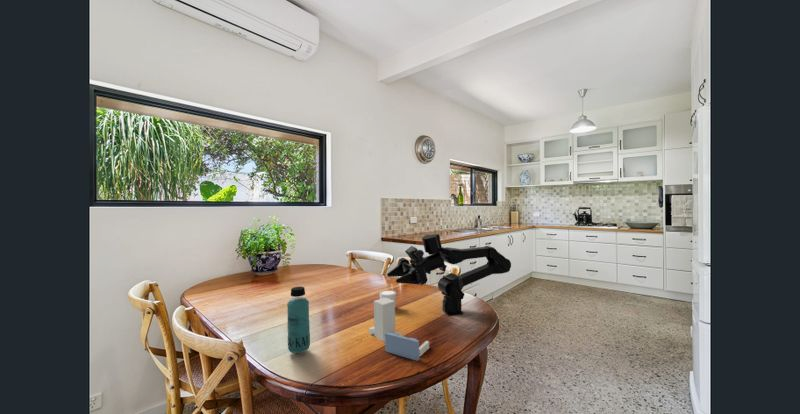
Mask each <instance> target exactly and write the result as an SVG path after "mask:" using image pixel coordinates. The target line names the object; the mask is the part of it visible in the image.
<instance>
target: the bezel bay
mask: <svg viewBox="0 0 800 414" xmlns="http://www.w3.org/2000/svg"><path fill="white" fill-rule="evenodd" d="M395 333H396V332H395ZM395 333H388V332H387V333H385V341H384V345H385V346H384V347H385V352H386V353H389V354H393V355H396V356H399V357H403V358H406V359H409V360H412V361H417V362H418V361H419V360H420V357H421V356H423V355H424V353H426V352H427V351H428V350H429V349H430V341H428V340H425V341H424V342H423V343H422V344H421V345H420V340H418V339H417V338H414V337H407V336H405V334H401V335H400V336H399V335H396V334H395Z"/></svg>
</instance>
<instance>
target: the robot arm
mask: <svg viewBox="0 0 800 414" xmlns="http://www.w3.org/2000/svg"><path fill="white" fill-rule="evenodd" d="M421 240H422V244H423V248H424V251H423V250H422V249H418V248H416V247H415V246H412V245H411V246H409V247H408V248H407V249H406V250H405V254H406V255H407V256H408V258H409V259H407V258H405V257H402V258H399V259H398V262H397V265H396V266H395V267H394V268H393V269H391V270H390V271H389V272H388V273H387V274H386V276H387V277H388V278H391V277H398V278H396V279H395V282H396V284H409V285H411V284H412V285H417V286H419V285H420V286H424V285H426V284H427V282H428V276H427V275H430V274H432V273H431V272H433V271H435V270H437V269H438V270H439V271H442V272H443V273H446V270H447V267H448V265H446V264H445V262H446V263H448V264H450V265H457V264H459V263H462V262H464V261H467V260H472V259H473V260H474V259H480V258H485V259H486V260H487V262H486V263H485V264H484V265H481V266H478V267H476V268H473V269H471V270H469V271H466V272H464V273H461V274H459V275H457V274H455V273H453V272H450V273H448V274H446V275H442V277H441V278H440V279H439V280H438V282H437V287H438V288H437V289H438V290H439V291H440V292H441V294H442V295H443V300H442V302H441V303H442V309H441V311H443V312H444V314H446V315H447V316H454V315H462V314H464V311H462V300H463V299H464V297H465V293H464V292H463V291H462V290H463V289H464V287H466V286H468V285H470V284H472V283H475V282H477V281H479V280H482V279H484V278H486V277H489V276H492V275H501V274H506V273H509V272H510V271H511V268H512V262H511V260H510V259H509V258H507V257H505V256H504V255H503V254H501V253H500V252H499V251H498V250H497V249H496V248H495V247H493V246H488V245H485V246H480V247H477V246H476V247H469V248H455V247H443V246H442V242H441V236H440V234H439V233H435V234H427V235H423V236H422V237H421ZM425 253H428V256H425V257H424V255H425Z"/></svg>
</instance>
